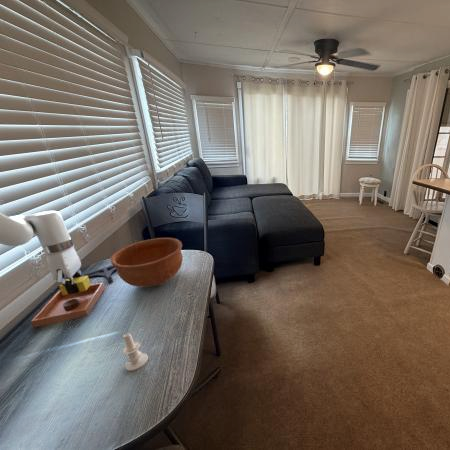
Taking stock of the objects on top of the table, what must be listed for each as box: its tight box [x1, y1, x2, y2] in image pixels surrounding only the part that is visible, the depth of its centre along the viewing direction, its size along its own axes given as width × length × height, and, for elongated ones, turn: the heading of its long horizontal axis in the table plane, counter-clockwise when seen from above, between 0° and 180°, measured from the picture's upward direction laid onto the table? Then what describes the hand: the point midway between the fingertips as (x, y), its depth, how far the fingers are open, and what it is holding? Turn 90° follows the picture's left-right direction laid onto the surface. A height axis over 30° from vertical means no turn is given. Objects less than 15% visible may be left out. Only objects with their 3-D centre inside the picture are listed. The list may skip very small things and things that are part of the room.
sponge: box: [58, 275, 92, 295], centre depth 90 cm, size 7×4×4 cm, turn 112°
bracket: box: [83, 264, 117, 284], centre depth 105 cm, size 14×15×3 cm
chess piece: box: [122, 332, 149, 372], centre depth 63 cm, size 5×5×10 cm
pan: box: [30, 282, 106, 328], centre depth 87 cm, size 14×17×3 cm
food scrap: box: [63, 299, 80, 311], centre depth 86 cm, size 4×4×2 cm
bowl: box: [109, 237, 183, 288], centre depth 98 cm, size 25×25×15 cm
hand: (77, 288), depth 90 cm, fingers closed on sponge, 4 cm apart
